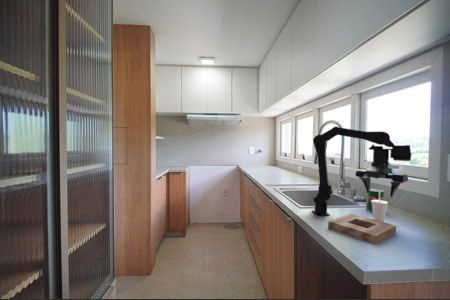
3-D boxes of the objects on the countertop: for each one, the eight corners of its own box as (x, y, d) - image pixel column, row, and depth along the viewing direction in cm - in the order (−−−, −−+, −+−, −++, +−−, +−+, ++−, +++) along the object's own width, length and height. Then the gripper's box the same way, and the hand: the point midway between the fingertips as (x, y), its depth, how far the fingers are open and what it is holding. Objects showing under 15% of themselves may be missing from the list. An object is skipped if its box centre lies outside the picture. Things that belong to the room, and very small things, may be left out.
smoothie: (386, 221, 104) (387, 191, 103) (388, 226, 98) (389, 194, 98) (370, 219, 107) (370, 189, 106) (370, 223, 101) (371, 192, 101)
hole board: (328, 228, 96) (328, 221, 96) (350, 219, 106) (350, 213, 106) (375, 244, 81) (376, 235, 81) (395, 232, 91) (396, 225, 91)
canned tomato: (373, 212, 117) (373, 191, 117) (362, 208, 125) (363, 188, 125) (387, 212, 118) (388, 191, 117) (376, 207, 126) (376, 188, 125)
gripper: (350, 159, 105) (349, 193, 105) (398, 162, 89) (397, 202, 90) (361, 158, 111) (360, 190, 111) (409, 161, 95) (407, 198, 96)
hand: (379, 194), depth 102 cm, fingers open, 9 cm apart
